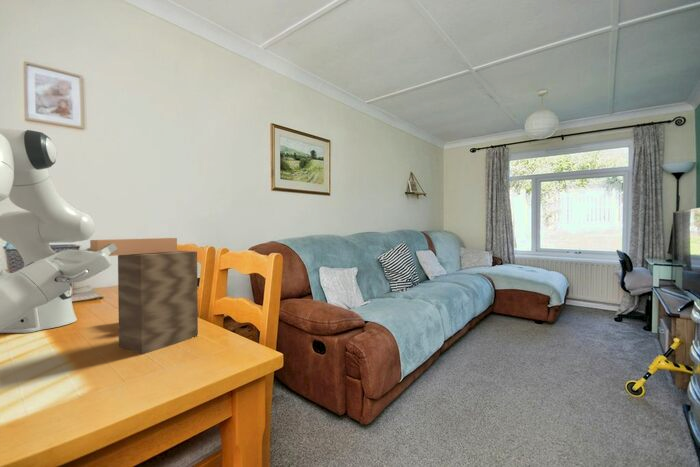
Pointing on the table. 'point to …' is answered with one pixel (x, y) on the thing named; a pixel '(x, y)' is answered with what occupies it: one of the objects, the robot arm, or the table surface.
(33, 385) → the table surface
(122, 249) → the rail
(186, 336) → the zigzag grain wooden block
